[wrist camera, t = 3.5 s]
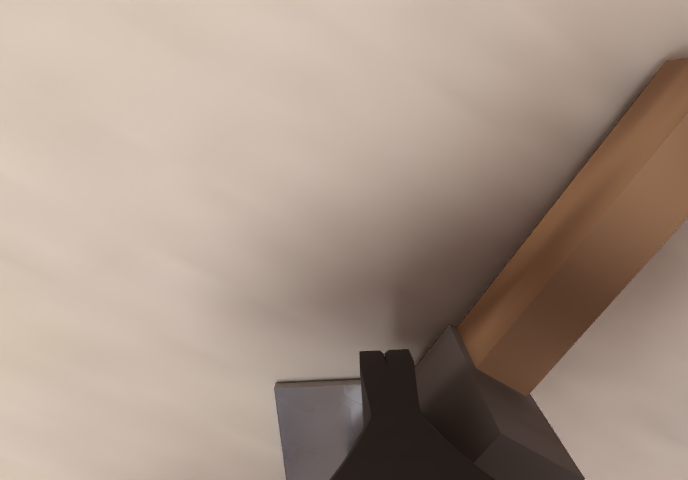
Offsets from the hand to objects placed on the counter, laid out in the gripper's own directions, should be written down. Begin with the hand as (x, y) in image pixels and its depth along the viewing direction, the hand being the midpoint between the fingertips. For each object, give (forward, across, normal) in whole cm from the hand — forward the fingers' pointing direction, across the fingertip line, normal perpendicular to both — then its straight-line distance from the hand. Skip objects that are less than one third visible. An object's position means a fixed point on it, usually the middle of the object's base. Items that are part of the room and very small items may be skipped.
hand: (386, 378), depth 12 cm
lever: (+2, -5, -2) cm, 6 cm away
